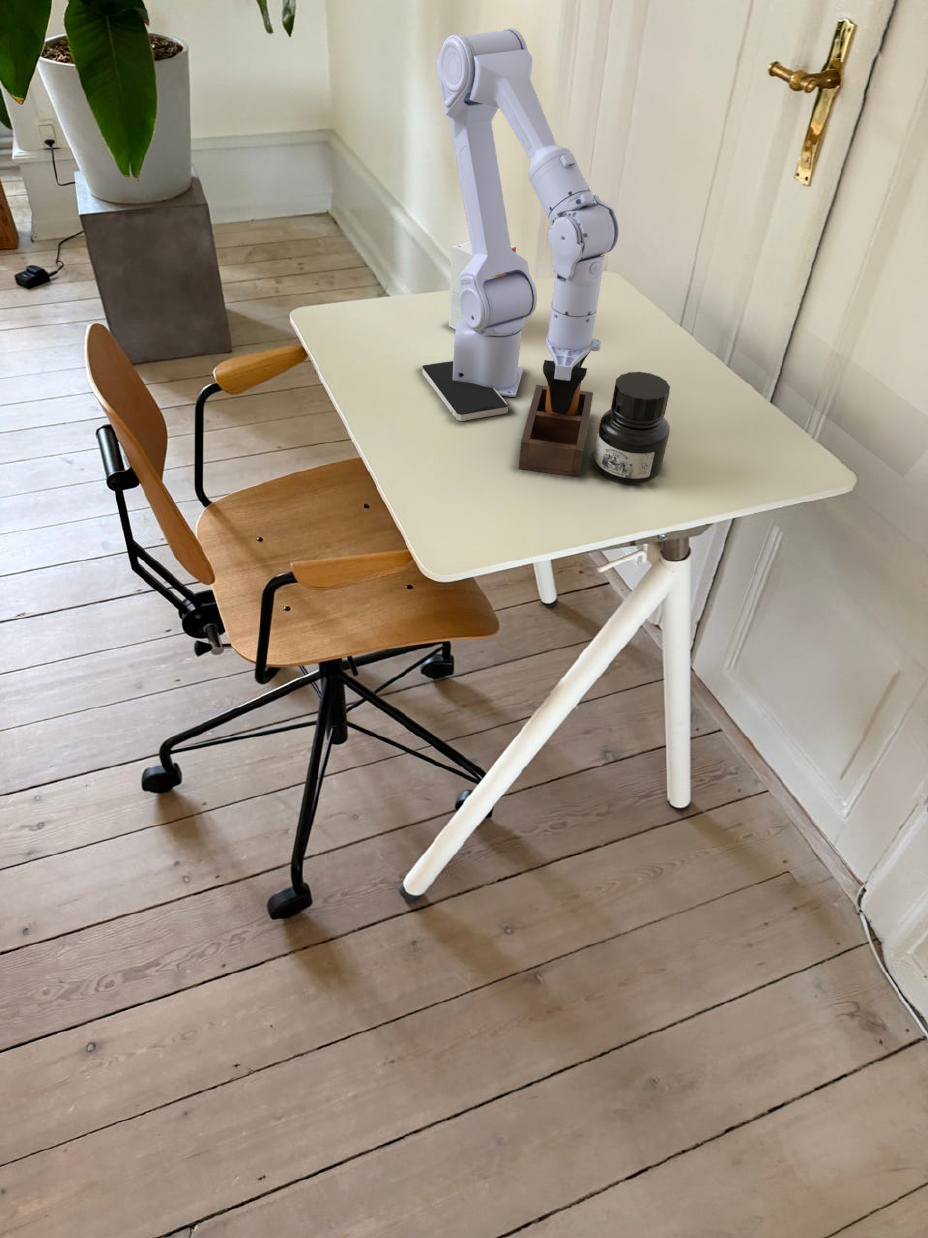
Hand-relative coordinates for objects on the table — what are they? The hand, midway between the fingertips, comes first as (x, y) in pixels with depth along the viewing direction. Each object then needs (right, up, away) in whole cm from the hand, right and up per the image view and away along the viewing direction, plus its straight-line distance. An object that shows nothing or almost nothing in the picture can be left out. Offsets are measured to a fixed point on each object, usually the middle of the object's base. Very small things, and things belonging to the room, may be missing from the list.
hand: (561, 402), depth 126 cm
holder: (-1, -5, 0) cm, 5 cm away
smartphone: (-13, +3, +9) cm, 17 cm away
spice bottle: (0, -2, +2) cm, 3 cm away
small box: (-11, +18, +24) cm, 32 cm away
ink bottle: (+8, -9, -3) cm, 13 cm away
